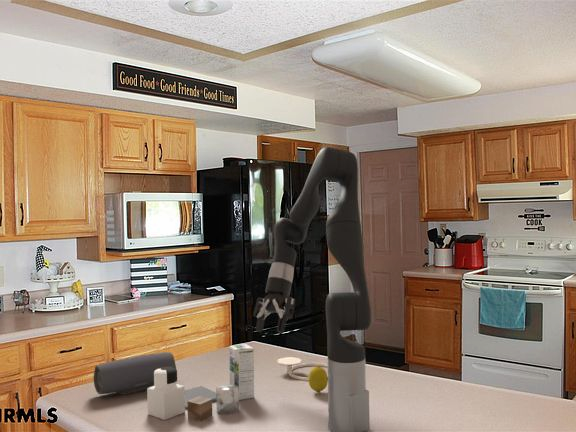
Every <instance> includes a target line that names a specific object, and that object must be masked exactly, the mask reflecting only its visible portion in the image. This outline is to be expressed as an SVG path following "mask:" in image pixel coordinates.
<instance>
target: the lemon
mask: <svg viewBox="0 0 576 432" xmlns="http://www.w3.org/2000/svg"><path fill="white" fill-rule="evenodd" d="M327 377H328V372H327V371H326V370H325V369H324V368H323V367H322V366H313V368H311V370H310V372H309V373H308V378H309V381H308V384H309V387H310V388H311V389H312V390H313V391H315V393H317V394H319V393H321V391H324V390H325V389H326V388H327V387H328V378H327Z"/></svg>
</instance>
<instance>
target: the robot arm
mask: <svg viewBox="0 0 576 432" xmlns="http://www.w3.org/2000/svg"><path fill="white" fill-rule="evenodd" d="M357 159H358V158H357V156H356V155H355V153H353V152H351V151H349V150H346V149H345V150H344V149H340V148H335V147H332V146H325V147H322V148H321V149H320V150H319V152H318V153H317V156H316V157H315V159H314V161H313V164H312V166H311V168H310V172H309V173H308V175H307V178H306V180H305V184H304V186H303V189H302V190H301V193H300V195H299V196H298V198H297V200H295V201H296V202H295V203H294V205H293V206H292V208H291V209H290V211H289V213H288V214H289V218H286V217H280V218H278V219H277V220H276V222H275V224H274V227H273V237H274V254H273V258H272V263H271V266H270V269H269V271H268V272H269V273H268V278H267V280H266V286H265V294H266V296H265V297H264V298H262V297H259V296H258V297H257V298H256V303H255V306H254V309H253V314H252V316H253V317H256V318H257V319H256V324H255V330H256V332H259V333H262V332H263V331H264V327H265V320H266V318H267V317H268V316H269V315H271V314H274V313H277V315H278V317H279V318H278V322H277V327H276V332H277V333H279V334H283V333H284V331H285V328H286V324H287V321H288V320H289V319H293V317H294V312H295V311H294V310H295V305H296V299H295V298H292V297H291V296H290V294H291V289H292V284H293V279H294V275H295V274H294V272H295V271H294V270H295V267H296V261H297V256H298V255H297V254H298V253H297V250H295V249H294V248H293V247H291V246H289V245H288V244H287V242H288V243H291V244H293V245H300V244H302V243H303V242H305V240H306V238H307V235H308V228H309V226H310V224H311V222H312V220H313V219H314V217H315V216H316V214H317V213H318V211H319V210H320V209H319V208H320V206H321V196H320V190H319V186H320V184H321V183H322V181H323V180H324V181H328V182H332V183H338V184H339V186H340V195H339V199H338V201H337V203H336V204H335V206H334V207H333V209H331V212H330V213H329V214H328V217H327V218H326V222H325V231H326V244H327V245H326V246H327V249H328V251H329V252H330V254H331V256H332V257H333V258H334V260H335V261H336V262H337V263H338V265H340V267H341V268H342V269H343V271H344V272H345V273H346V275H347V277H348V279H349V281H350V283H351V286H352V289H353V292H352V291H349V292H348V291H347V292H345V291H344V292H330V293H328V294H327V296H326V299H325V319H326V322H325V323H326V333H327V336H326V337H327V342H326V343H327V364H328V367H327V377H328V382H327V395H328V396H327V398H328V399H327V405H328V406H327V407H328V409H327V410H328V411H327V412H328V429H329V430H330V431H331V432H366V431H369V430H370V428H371V427H370V391H369V390H368V389H366V387H367V386H366V385H367V384H366V383H367V382H366V381H367V380H366V378H367V377H366V376H367V375H366V348H365V347H364V345H363V344H361V343H359V342H356V341H352V340H350V339H347V338H346V337H344V336H343V335H342V334H341V332H343V331H347V332H348V331H365V330H368V329H369V328H370V326H371V323H372V310H371V309H372V308H371V301H370V295H369V288H368V283H367V278H366V277H367V276H366V271H365V262H364V261H365V260H364V246H363V234H362V233H363V232H362V223H361V217H360V216H361V215H360V208H359V207H360V206H359V167H358V160H357Z"/></svg>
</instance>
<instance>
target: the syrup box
mask: <svg viewBox="0 0 576 432" xmlns="http://www.w3.org/2000/svg"><path fill="white" fill-rule="evenodd" d="M254 350H255V349H254V347H252V346H250V345H248V344H247V343H240V344H239V343H238V344H233V345H229V384H230V385H236V386H238V388H239V401H242V400H248V399H253V398H255V365H254V364H255V362H254V361H255V360H254V359H255V357H254V355H255V353H254Z"/></svg>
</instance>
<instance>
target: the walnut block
mask: <svg viewBox="0 0 576 432" xmlns="http://www.w3.org/2000/svg"><path fill="white" fill-rule="evenodd" d="M187 404H188V409H187V418H188V419H190V420H194V421H196V422H197V421H198V422H200V423H201V422H203V421H204V420H207V419H209V418H211V417H213V402H212V399H209V398H205V397H201V396H198V397H196V398H194V399H191V400H189V401H187Z"/></svg>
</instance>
